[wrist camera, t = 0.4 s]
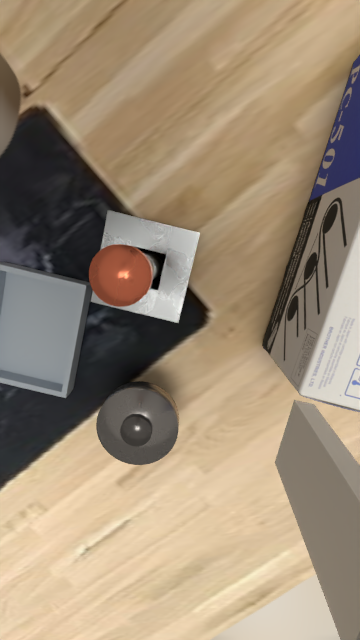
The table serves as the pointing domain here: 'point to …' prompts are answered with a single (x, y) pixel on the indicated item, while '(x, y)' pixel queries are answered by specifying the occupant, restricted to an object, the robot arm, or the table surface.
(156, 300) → the block
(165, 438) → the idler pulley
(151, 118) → the table surface
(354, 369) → the ink box
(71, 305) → the tray
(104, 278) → the pin
